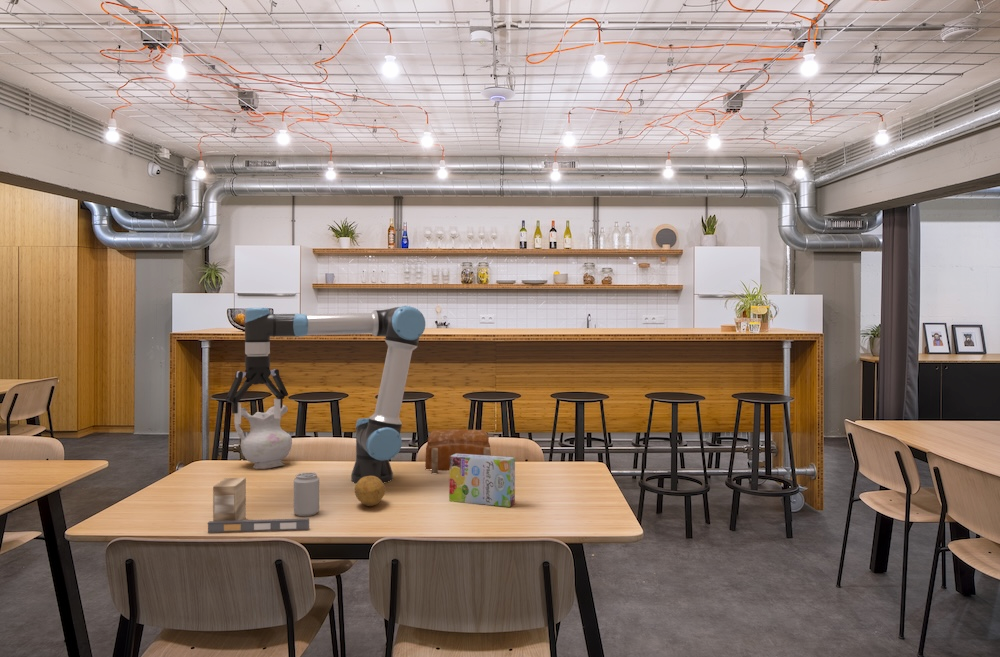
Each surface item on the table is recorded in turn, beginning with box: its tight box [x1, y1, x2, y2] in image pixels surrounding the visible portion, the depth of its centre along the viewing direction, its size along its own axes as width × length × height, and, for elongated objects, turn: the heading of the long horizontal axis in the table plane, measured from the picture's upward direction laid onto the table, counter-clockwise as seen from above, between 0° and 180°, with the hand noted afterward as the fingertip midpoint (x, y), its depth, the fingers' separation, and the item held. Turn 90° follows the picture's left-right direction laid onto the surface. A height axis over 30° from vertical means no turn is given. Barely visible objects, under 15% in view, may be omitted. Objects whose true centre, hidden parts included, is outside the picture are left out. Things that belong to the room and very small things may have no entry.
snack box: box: [448, 454, 516, 508], centre depth 206 cm, size 21×6×15 cm, turn 71°
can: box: [293, 472, 320, 517], centre depth 193 cm, size 8×8×12 cm
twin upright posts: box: [431, 446, 491, 474], centre depth 255 cm, size 22×22×10 cm
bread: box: [424, 428, 492, 471], centre depth 256 cm, size 14×26×16 cm, turn 91°
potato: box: [354, 476, 387, 507], centre depth 202 cm, size 10×13×9 cm
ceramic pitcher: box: [233, 404, 293, 470], centre depth 255 cm, size 22×20×25 cm
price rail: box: [207, 517, 310, 534], centre depth 177 cm, size 27×2×3 cm, turn 96°
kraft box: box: [212, 477, 247, 521], centre depth 183 cm, size 6×10×12 cm, turn 6°
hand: (258, 421), depth 206 cm, fingers open, 13 cm apart
